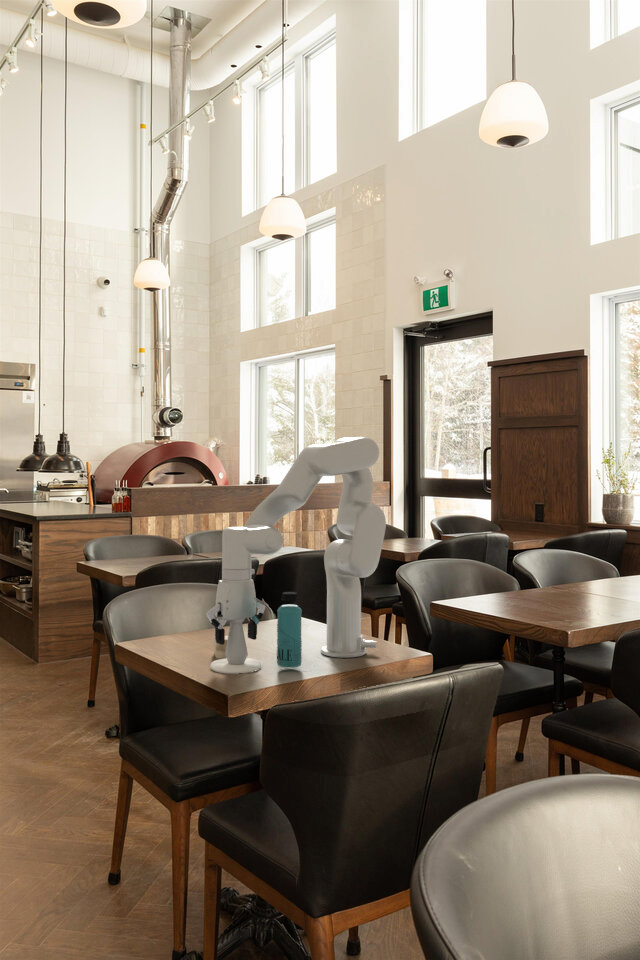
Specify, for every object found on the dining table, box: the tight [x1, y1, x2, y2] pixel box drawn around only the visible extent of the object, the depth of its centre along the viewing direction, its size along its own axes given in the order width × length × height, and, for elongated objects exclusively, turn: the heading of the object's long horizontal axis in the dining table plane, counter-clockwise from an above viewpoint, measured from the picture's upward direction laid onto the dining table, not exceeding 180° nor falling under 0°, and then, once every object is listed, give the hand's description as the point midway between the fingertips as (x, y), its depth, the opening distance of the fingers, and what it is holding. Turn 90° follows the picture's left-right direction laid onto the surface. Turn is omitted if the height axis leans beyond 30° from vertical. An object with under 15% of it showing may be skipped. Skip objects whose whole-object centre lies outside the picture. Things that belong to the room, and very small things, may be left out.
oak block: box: [213, 635, 228, 659], centre depth 221 cm, size 5×5×5 cm
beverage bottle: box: [276, 591, 303, 668], centre depth 206 cm, size 6×7×20 cm
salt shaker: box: [225, 618, 249, 665], centre depth 208 cm, size 6×6×13 cm
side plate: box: [210, 657, 262, 675], centre depth 208 cm, size 13×13×1 cm
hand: (236, 641), depth 208 cm, fingers open, 9 cm apart
